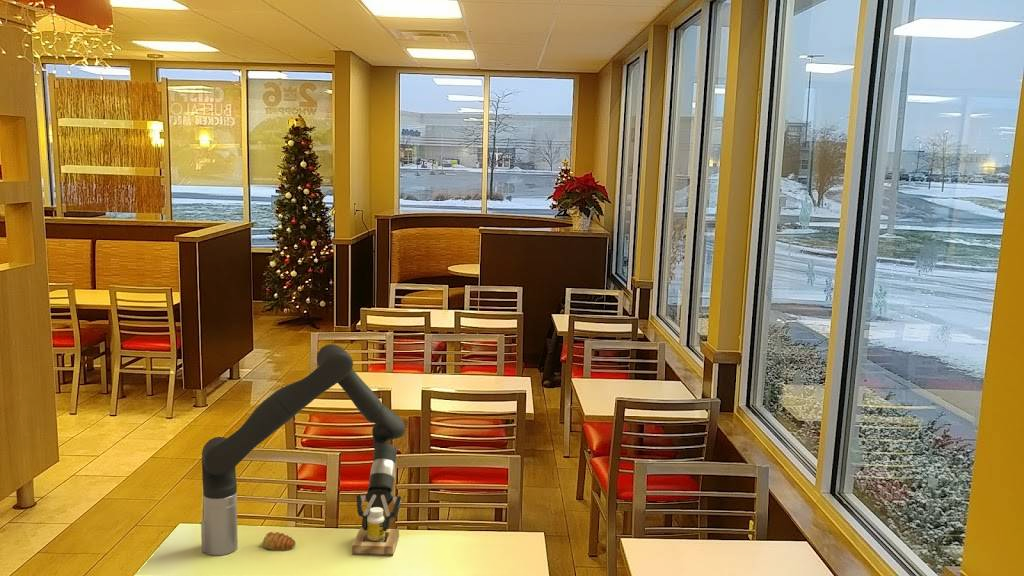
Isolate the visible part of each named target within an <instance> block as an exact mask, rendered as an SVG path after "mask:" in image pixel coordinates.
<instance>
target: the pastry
mask: <svg viewBox="0 0 1024 576" xmlns="http://www.w3.org/2000/svg"><path fill="white" fill-rule="evenodd" d="M296 544H297V543H296V540H295V539H294V538H293V537H291V536H289V535H288V534H284V533H283V532H281V533H280V532H278V531H276V532H273V531H270V532H268V533H266V534H265V536H264V538H263V541H262V546H263V547H264V548H265V549H266V550H268V549H269V550H271V551H289V550H292V549H293V548H294V547H296Z"/></svg>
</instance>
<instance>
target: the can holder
mask: <svg viewBox="0 0 1024 576" xmlns="http://www.w3.org/2000/svg"><path fill="white" fill-rule="evenodd" d="M358 529H359V530H358V532H357V534H356V536H355V538H354V540H353V542H352V545H351V549H352V550H351V555H352V556H377V557H378V556H379V557H394V554H395V551H396V548H397V545H398V542H399V539H400V529H399V528H389V529H387V531H385V540H384V541H383V542H367V530H364V529H363V528H362V527H360V528H358ZM398 538H399V539H398Z"/></svg>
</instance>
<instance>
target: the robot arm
mask: <svg viewBox="0 0 1024 576" xmlns="http://www.w3.org/2000/svg"><path fill="white" fill-rule="evenodd" d="M316 364H317V366H318V367H317V368H316V369H314V370H313V371H312V372H310V373H309V374H308V375H307V376H306V377H305V376H304V377H303V378H302V379H300V380H298V381H295V382H292V383H290V384H288V385H284V386H283V387H280V388H279V389H277V390H276V391H274V392H273V393H271V394H270V395H269V396H268V397H266V398H265V399H264V400H263V401H262V402H261V403H260V404H259V405H257V407H256V408H255V409H254V410H253V411H252V413H251V414H250V415H249V417H248V418H247V420H246V421H245V422H244V424H242V425H241V426H240V427H239V428H238V429H237V430H236V431H234V432H233V433H232V434H231V435H229V436H228V437H225V436H215V437H213V438H210V439H209V440H208V441H206V443H205V444H204V446H203V448H202V450H201V451H202V452H201V471H202V472H201V473H202V475H201V476H202V477H201V478H202V490H203V491H202V493H203V519H202V520H201V521H200V522H201V523H200V525H201V526H200V527H201V528H200V529H201V531H200V532H201V534H200V535H201V553H204V554H207V555H209V556H224V555H228V554H232V553H233V552H234V551H236V550H237V549H238V541H239V540H238V491H237V490H238V487H237V486H238V483H237V475H236V474H237V472H236V467H237V465H239V464H240V463H241V462H242V461H243V459H244V458H245V457H246V456H248V455H249V453H250V452H251V451H253V450H254V449H255V448H256V447H257V446H258V445H260V444H261V443H263V442H264V441H265V440H266V439H267V438H269V437H270V436H271V435H272V434H274V433H275V432H276V431H278V430H279V429H280V428H281V427H283V426H284V425H285V424H287V423H288V422H289V421H290V420H292V419H293V418H294V417H295V416H296V415H297V414H299V413H300V412H301V411H302V410H304V409H305V407H307V406H308V405H309V404H311V403H312V402H313V401H314V400H315V399H317V398H318V397H319V396H320V395H322V394H323V393H325V392H326V391H327V390H329V389H330V388H332V387H334V386H335V385H336V384H338V385H339V386H340V387H341V388H342V389H343V391H344V392H345V394H346V395H347V396H348V397H349V399H350V401H351V402H352V403H353V405H354V406H355V407H356V409H357V410H358V411H359V412H360V413H361V415H362V416H363V417H364V418H365V420H366V421H367V422H369V423H371V424H373V425H372V430H371V431H372V432H371V434H372V440H373V441H372V442H373V447H374V448H373V449H374V452H373V459H372V465H371V468H370V475H369V482H368V487H367V493H366V494H365V495H360V494H357V495H356V507H357V508H356V513H357V515H358V517H361V518H362V520H361V528H363V529H364V530H367V518H368V516H369V515H370V509H371V508H373V507H380V508H382V509H383V511H384V512H385V516H384V517H385V521H384V531H387V529H390V524H391V520H392V518H394V519H396V518H397V517H398V514H399V511H400V508H401V505H402V502H403V501H402V497H401V496H399V495H398V496H394V494H393V491H394V483H395V477H396V461H397V454H398V453H397V447H396V446H395V445H394V444H391V443H388V441H392V440H396V439H400V438H401V437H403V436H404V434H405V433H406V425H405V422H404V420H403V419H402V418H401V417H400V416H399V415H398V414H397V413H396V412H394V411H393V410H391V409H390V408H388V407H386V406H385V405H384V404H383V402H382V401H381V400H380V399H379V397H378V396H377V394H376V393H374V392H373V390H372V389H371V388H370V387H369V386H368V385H367V384H366V382H364V381H363V379H362V378H361V377H360V376H359V375H358V374H357V372H356V371H355V369H354V368H353V367H354V360H353V358H352V356H351V355H350V354H349V353H348V352H347V350H345V348H343V347H341V346H340V345H338V344H334V343H329V344H325V345H324V346H322V347H320V348H319V350H318V352H317V355H316ZM365 500H366V501H367V504H366V508H365V510H363V504H364V503H365ZM392 502H393V503H394V505H393V509H392V512H390V509H389V505H390V504H391V503H392Z"/></svg>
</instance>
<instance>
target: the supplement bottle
mask: <svg viewBox="0 0 1024 576" xmlns="http://www.w3.org/2000/svg"><path fill="white" fill-rule="evenodd" d="M385 517H386V516H385V515H384V509H382V508H380V507H373V508H371V509H370V515H369V516H368V518H367V542H383V541H384V540H385V531H384V521H385Z"/></svg>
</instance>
